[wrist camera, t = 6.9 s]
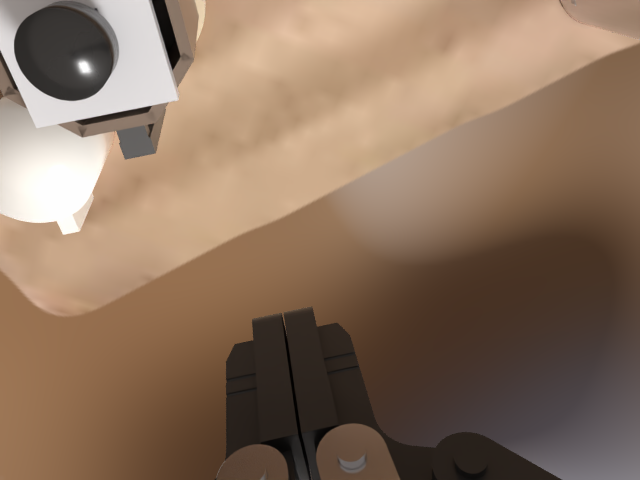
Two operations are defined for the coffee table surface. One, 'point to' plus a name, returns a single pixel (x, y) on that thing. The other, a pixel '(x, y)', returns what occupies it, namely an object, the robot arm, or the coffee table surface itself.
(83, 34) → the plunger
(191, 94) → the coffee table surface
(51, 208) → the mug
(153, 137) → the carafe
